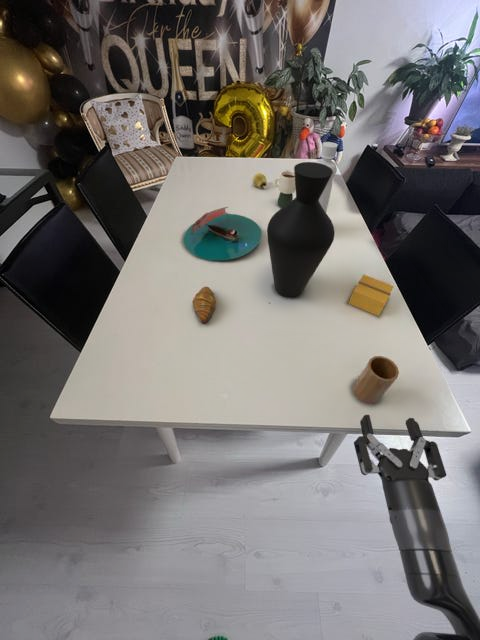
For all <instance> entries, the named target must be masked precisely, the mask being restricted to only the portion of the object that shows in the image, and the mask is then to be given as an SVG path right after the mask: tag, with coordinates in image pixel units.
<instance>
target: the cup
mask: <svg viewBox="0 0 480 640" xmlns="http://www.w3.org/2000/svg"><path fill="white" fill-rule="evenodd" d="M399 375H400V371H399V367H398V366H397V365H396V363H395V362H394V361H392V360H391V359H390V358H388V357H387V356H386V357H385V356H382V355H374V356H373V357H371V358H370V359H369V360H368V362H367V363H366V364H365V367H364V368H363V369H362V371H361V372H360V374H359V376H358V377H357V378H356V380H355V382H354V384H353V387H352V390H353V393H354V395H355V397H356V398H357V399H358V400H359V401H361V402H363V403H365V404H368V405H369V404H375V403H377V402H378V401H379V400H381V398H383V396H384V395H385V394H386V392H387V391H388V390H389V389H390V387H391V386H392V385H393V384H394V383H395V381H396V380H397V379H398V378H399Z"/></svg>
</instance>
